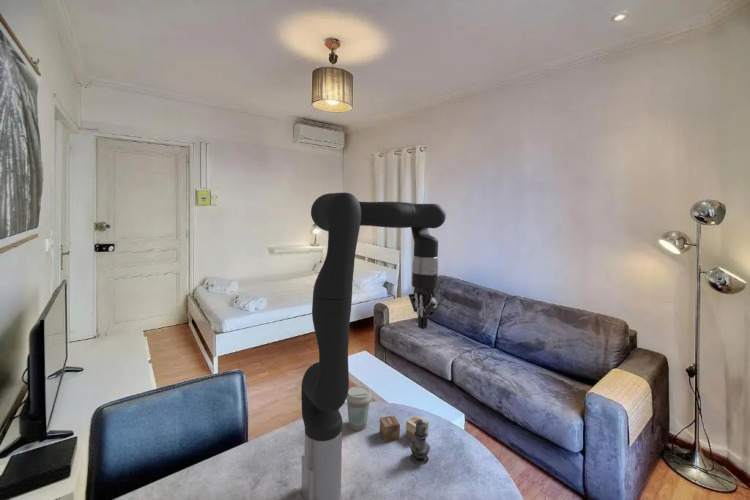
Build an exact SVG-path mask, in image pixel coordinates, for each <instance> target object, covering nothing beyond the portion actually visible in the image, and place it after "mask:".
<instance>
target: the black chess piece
mask: <svg viewBox="0 0 750 500" xmlns="http://www.w3.org/2000/svg"><path fill="white" fill-rule="evenodd" d="M414 435H415V441H414V440H412V441H411V443H409V448H410V451H411V454H410V460H411V462H413V463H414V464H416V465H419V466H420V465H421V466H422V465H426V464H428V463H429V456H428V455H429V453H430V451H431V446H430V445H429V443H428V442H426V437H427V434H426V424H425V423H424V422H422V420H420V421H419V422H417V423H416V432H415V433H414ZM427 438H428V437H427Z"/></svg>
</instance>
